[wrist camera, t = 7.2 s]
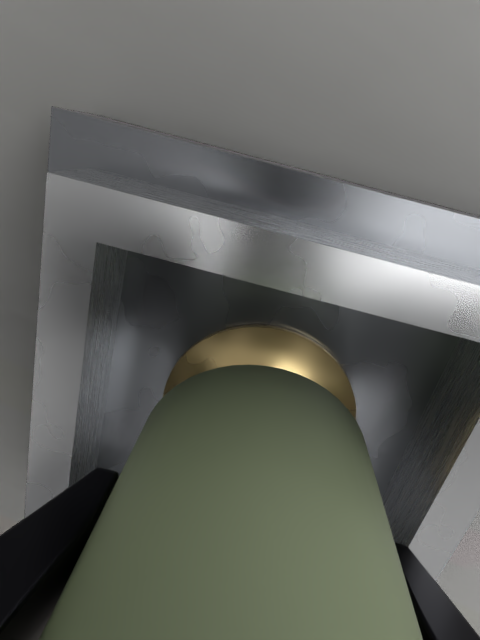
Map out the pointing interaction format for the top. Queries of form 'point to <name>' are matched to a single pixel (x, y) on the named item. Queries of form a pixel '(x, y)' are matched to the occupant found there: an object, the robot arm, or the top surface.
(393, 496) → the grey square holder
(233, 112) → the top surface
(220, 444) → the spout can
